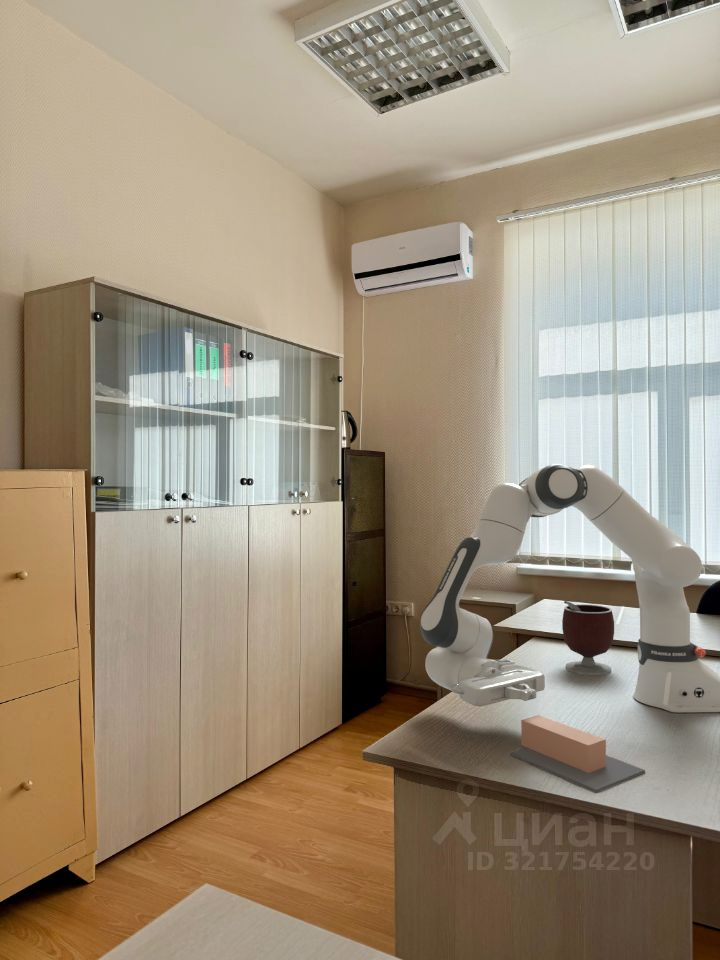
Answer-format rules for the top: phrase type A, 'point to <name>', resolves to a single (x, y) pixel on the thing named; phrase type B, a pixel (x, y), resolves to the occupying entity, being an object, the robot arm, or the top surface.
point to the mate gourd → (588, 636)
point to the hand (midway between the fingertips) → (531, 695)
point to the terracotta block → (564, 743)
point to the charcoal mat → (592, 781)
